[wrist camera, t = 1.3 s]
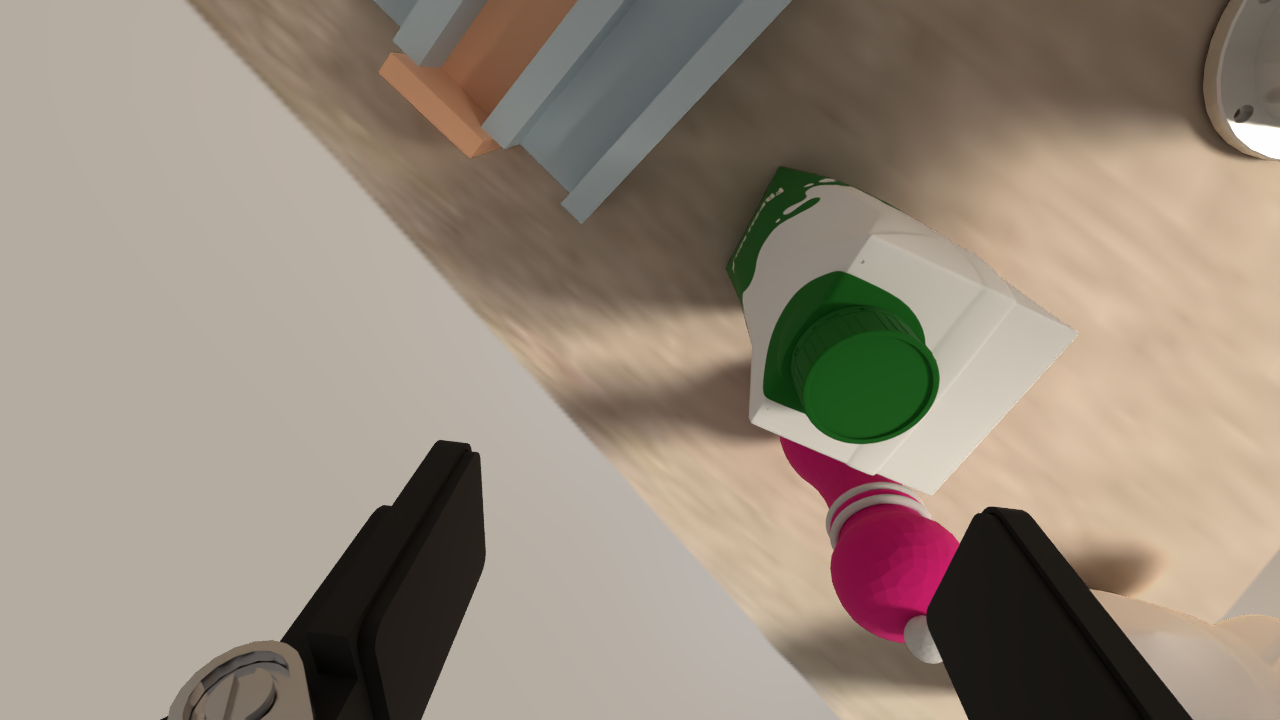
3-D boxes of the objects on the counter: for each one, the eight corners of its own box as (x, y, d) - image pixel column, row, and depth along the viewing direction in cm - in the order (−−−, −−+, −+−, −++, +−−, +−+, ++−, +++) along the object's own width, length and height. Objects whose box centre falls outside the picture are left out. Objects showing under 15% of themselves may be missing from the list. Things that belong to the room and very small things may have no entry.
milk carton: (773, 144, 32) (890, 223, 14) (905, 208, 33) (1170, 356, 15) (706, 275, 36) (730, 467, 18) (826, 328, 37) (962, 558, 19)
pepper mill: (755, 424, 41) (812, 690, 23) (794, 341, 37) (896, 576, 19) (845, 449, 41) (970, 728, 23) (891, 369, 38) (1077, 624, 20)
